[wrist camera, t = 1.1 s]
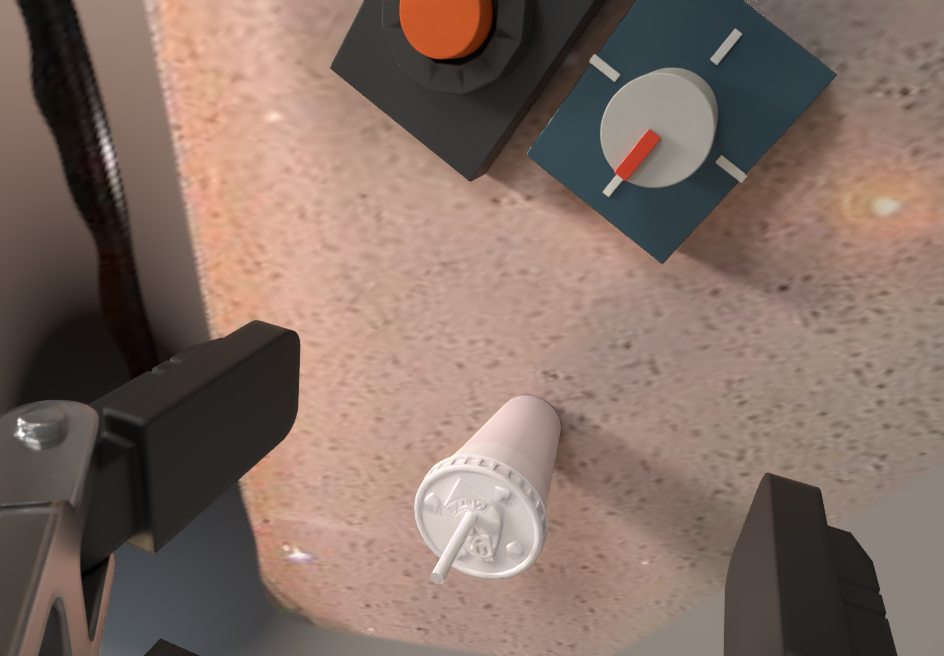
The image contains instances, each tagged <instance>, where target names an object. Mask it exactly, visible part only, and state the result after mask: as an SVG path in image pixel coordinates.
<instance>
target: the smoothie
mask: <svg viewBox="0 0 944 656" xmlns="http://www.w3.org/2000/svg"><path fill="white" fill-rule="evenodd" d="M560 432H561V424H560V420H559V417H558V415H557V413H556V412H555V410H554V409H553V408H552V407H551V406H550V405H549V404H548V403H547V402H545V401H544V400H542V399H540V398H537V397H534V396H527V395H523V396H517V397H514V398H512V399H510V400H509V401H507V402H506V403H505V404H504V405H503V406H502V407H501V408H500V409H499V410H498V411H497V412H496V413H495V414H494V415H493V416H492V417H491V418H490V419H489V420H488V421H487V422H486V423H485V424H484V425H483V426H482V427H481V428H480V429H479V430H478V431H477V432H476V433H475V434H474V435H473V436H472V437H471V438H470V439H469V440H468V441H467V442H466V443H465V444H464V445H463V446H462V447H461V448H460V449H459V450H458V451H457V452H456V453H455V454H454V455H453V456H452V457H449V458H446V459H444V460H442V461H441V462H439V463H438V464H436V465H435V466H433V467H432V469H431V470H430V471H429V472H428V474H427V475H426V476H425V478H424V480H423V482H422V484H421V485H420V487H419V489H418V491H417V494H416V497H415V502H414V514H415V519H416V523H417V526H418V529H419V531H420V533H421V535H422V537H423V539H424V540H425V542H426V543H427V545H428V546H429V547H430V549H431V550H432V551H433V552H434V553H435V554H436V555H437V556H438V557H439V558H440V560H439V562H438V563H437V565H436V567H435V569H434V570H433V572H432V574H431V579H432V581H433V582H435V583H437V584H441V583H442V582H443V581H444V579H445V577H446V575H447V573H448V571H449V569H450V568H451V567H453V568H455V569H457V570H459V571H460V572H463V573H465V574H468V575H471V576H474V577H478V578H484V579H504V578H509V577H513V576H515V575H518V574H520V573H522V572H523V571H525V570H526V569H528V568H529V567H530V566H531V565H532V564H533V563H534V561H535V560H536V558H537V557H538V555H539V553H540V551H541V549H542V547H543V545H544V543H545V541H546V539H547V532H548V524H549V523H548V517H547V512H546V506H547V499H548V494H549V489H550V484H551V478H552V473H553V468H554V463H555V458H556V453H557V447H558V442H559V437H560Z"/></svg>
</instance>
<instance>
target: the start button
mask: <svg viewBox="0 0 944 656" xmlns="http://www.w3.org/2000/svg"><path fill="white" fill-rule="evenodd" d="M492 20H493V5H492V0H401V1H400V21H401V25H402V28H403V31H404V34H405V36H406V38H407V39H408V41H409V42H410V44H411V45H412V46H413V47H414V48H415V49H416V50H417V51H419V52H420V53H421V54H423V55H425V56H427V57H430V58H434V59H452V58H461V57H465V56H467V55H470V54H471V53H473V52H474V51H476V50H477V49H478V48H479V47H480V46H481V45H482V44H483V42H484V41H485V40H486V38H487V36H488V34H489V31H490V29H491V25H492Z"/></svg>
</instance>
